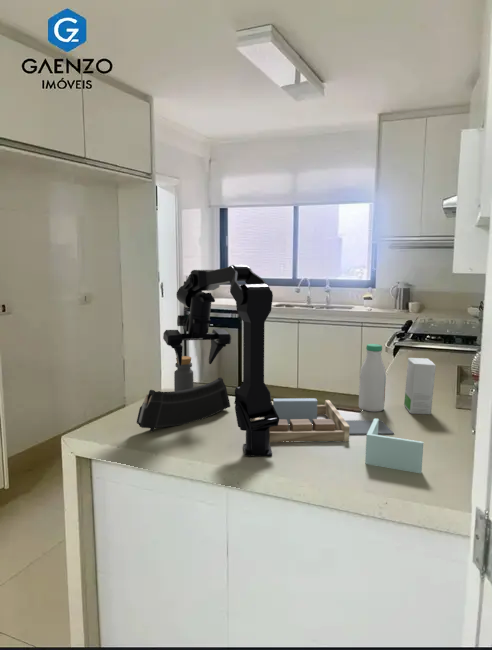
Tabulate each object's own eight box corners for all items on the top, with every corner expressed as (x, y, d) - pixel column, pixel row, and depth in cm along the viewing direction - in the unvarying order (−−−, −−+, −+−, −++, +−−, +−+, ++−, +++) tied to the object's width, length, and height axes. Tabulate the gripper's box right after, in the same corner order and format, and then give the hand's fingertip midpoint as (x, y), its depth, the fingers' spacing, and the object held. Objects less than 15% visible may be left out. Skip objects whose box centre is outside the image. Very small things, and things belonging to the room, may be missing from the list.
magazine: (229, 378, 148) (149, 364, 127) (236, 380, 145) (156, 366, 124) (217, 433, 147) (133, 428, 126) (224, 436, 144) (140, 432, 123)
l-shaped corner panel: (421, 476, 105) (423, 443, 103) (365, 466, 109) (366, 434, 108) (424, 455, 115) (426, 425, 114) (372, 447, 120) (374, 418, 119)
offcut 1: (287, 439, 123) (288, 424, 122) (268, 439, 123) (268, 424, 122) (286, 434, 127) (286, 419, 126) (267, 433, 127) (267, 419, 126)
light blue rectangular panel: (316, 425, 134) (317, 400, 133) (273, 425, 133) (274, 401, 132) (314, 422, 136) (315, 398, 135) (272, 422, 136) (273, 398, 135)
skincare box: (403, 405, 152) (406, 357, 150) (425, 406, 152) (428, 357, 150) (410, 414, 144) (413, 363, 142) (433, 414, 144) (436, 363, 141)
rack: (348, 441, 122) (349, 426, 121) (256, 442, 121) (257, 427, 120) (328, 413, 144) (329, 400, 144) (250, 413, 143) (250, 400, 142)
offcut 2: (311, 439, 124) (312, 424, 123) (292, 439, 123) (292, 424, 123) (307, 433, 128) (308, 418, 127) (289, 434, 127) (289, 419, 126)
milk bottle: (383, 413, 144) (386, 348, 141) (356, 410, 147) (359, 346, 144) (385, 406, 151) (388, 343, 149) (360, 403, 154) (363, 341, 151)
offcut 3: (334, 439, 124) (335, 424, 123) (315, 439, 124) (315, 424, 123) (330, 433, 128) (331, 418, 127) (312, 433, 128) (312, 419, 127)
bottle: (188, 408, 147) (188, 360, 145) (171, 406, 149) (170, 358, 147) (196, 402, 152) (196, 356, 150) (179, 401, 154) (179, 355, 152)
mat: (393, 434, 127) (393, 432, 127) (345, 434, 127) (345, 433, 126) (381, 421, 137) (381, 420, 137) (336, 421, 136) (336, 420, 136)
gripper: (221, 305, 146) (215, 352, 151) (160, 304, 139) (156, 355, 143) (234, 316, 137) (228, 367, 141) (170, 317, 129) (166, 370, 134)
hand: (194, 364), depth 140 cm, fingers open, 9 cm apart
